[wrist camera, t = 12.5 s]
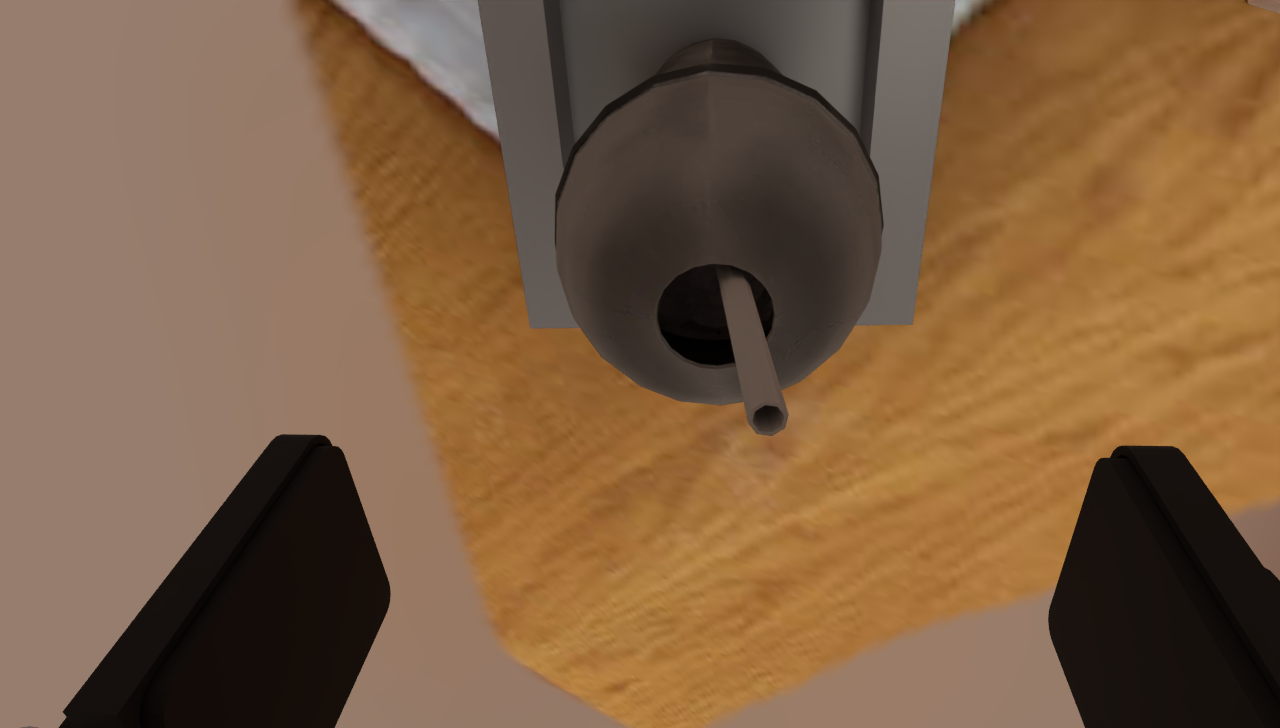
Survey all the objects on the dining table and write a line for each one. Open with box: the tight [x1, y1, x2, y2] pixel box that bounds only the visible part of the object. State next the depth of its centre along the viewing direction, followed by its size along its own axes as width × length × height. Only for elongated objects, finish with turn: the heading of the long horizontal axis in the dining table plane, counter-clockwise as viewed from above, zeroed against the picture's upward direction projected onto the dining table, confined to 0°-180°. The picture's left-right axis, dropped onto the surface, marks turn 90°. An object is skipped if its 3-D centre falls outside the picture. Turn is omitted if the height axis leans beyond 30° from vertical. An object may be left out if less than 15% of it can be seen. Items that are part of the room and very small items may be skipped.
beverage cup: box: [555, 38, 884, 436], centre depth 19 cm, size 7×7×20 cm
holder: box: [478, 0, 955, 328], centre depth 27 cm, size 14×14×3 cm
